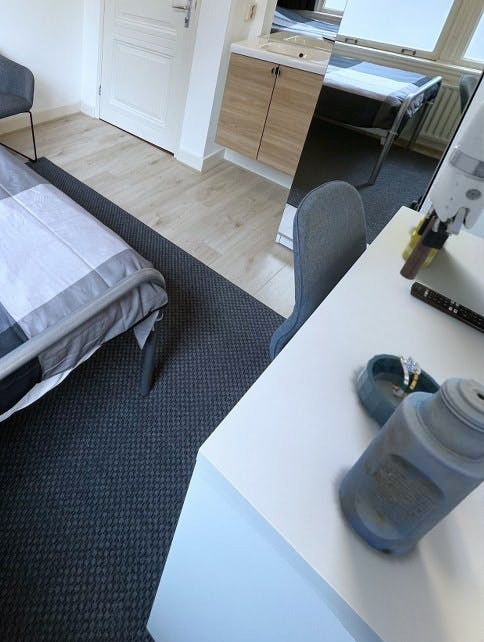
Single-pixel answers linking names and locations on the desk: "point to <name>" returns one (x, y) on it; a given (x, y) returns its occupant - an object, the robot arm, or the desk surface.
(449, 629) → the desk surface
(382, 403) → the bowl
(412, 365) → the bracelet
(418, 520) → the bottle
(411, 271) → the brown wooden dowel
